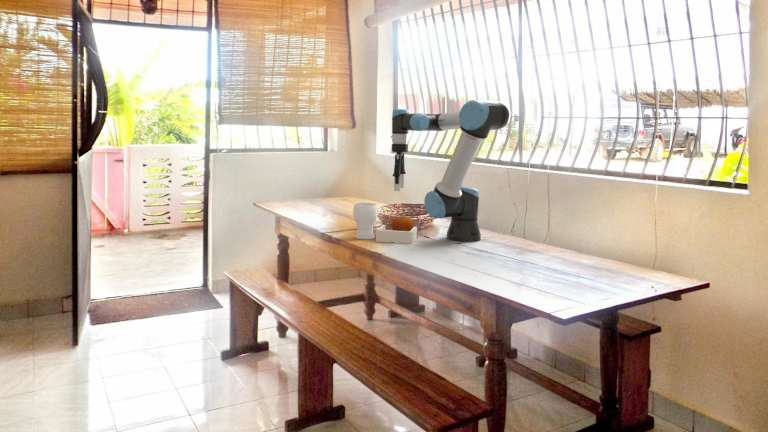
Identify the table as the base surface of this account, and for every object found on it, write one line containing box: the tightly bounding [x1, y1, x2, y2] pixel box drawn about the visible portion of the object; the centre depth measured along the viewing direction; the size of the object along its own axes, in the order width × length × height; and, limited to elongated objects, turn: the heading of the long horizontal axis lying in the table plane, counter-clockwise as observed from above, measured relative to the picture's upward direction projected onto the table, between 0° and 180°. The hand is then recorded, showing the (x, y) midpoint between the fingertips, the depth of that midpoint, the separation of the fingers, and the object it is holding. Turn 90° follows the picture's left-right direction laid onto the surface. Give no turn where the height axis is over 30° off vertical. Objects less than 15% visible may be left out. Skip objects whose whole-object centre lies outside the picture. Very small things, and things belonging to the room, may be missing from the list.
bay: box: [375, 219, 419, 245], centre depth 273 cm, size 16×16×7 cm
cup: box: [352, 202, 379, 240], centre depth 274 cm, size 11×11×15 cm
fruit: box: [390, 215, 415, 231], centre depth 287 cm, size 11×10×8 cm
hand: (399, 189), depth 290 cm, fingers open, 13 cm apart
